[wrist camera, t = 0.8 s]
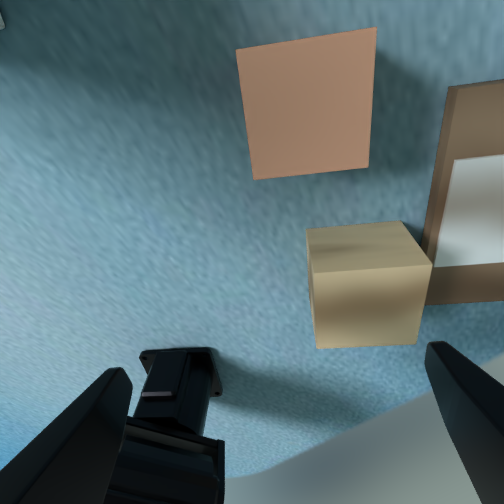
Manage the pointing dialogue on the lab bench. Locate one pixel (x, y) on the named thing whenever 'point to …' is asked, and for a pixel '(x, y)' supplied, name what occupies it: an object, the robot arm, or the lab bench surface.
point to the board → (468, 199)
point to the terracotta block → (308, 103)
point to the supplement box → (1, 23)
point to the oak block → (366, 284)
